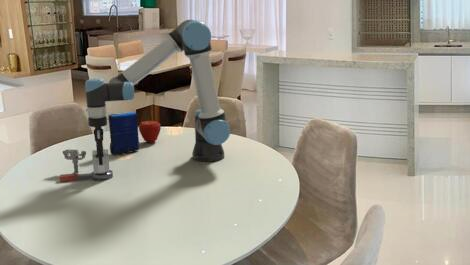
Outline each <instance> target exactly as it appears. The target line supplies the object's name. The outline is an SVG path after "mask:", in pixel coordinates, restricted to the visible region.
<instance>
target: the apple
mask: <svg viewBox="0 0 470 265" xmlns="http://www.w3.org/2000/svg"><path fill="white" fill-rule="evenodd" d="M161 128H162V127H161V123H159V122H158V121H155V120H150V119H149V120H145V121H141V122H140V123H139V125H138V132H139V134H140V136H141V137H142V139H143V140H144V141H145V142H146V143H148V144H152V143H155V142H156V141H157V140H158V138H159V135H160V133H161Z"/></svg>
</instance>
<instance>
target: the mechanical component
mask: <svg viewBox="0 0 470 265" xmlns="http://www.w3.org/2000/svg"><path fill="white" fill-rule="evenodd" d="M62 154H63V156H64V159H65V160H72V162H71V163H72V164H73V171H74V173H79V166H78V163H79V161H82V160H83V159H85V158H86V155H87V152H86V151H85V150H82V151H79V149H64V150H63V151H62ZM74 173H73V174H74Z"/></svg>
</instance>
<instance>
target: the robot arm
mask: <svg viewBox="0 0 470 265" xmlns="http://www.w3.org/2000/svg"><path fill="white" fill-rule="evenodd" d="M211 40H212V32H211V30H210V27H208V25H207V24H206V23H205V22H202V21H200V20H196V19H195V20H194V19H186V20H184V21H182V22H181V23H179V24H178V25H177V26H176V27H175V28H174V29H173V30H172V31H171V32H169V33H167V36H166V38H165V39H164V40H162V41H160V43H159V44H157V45H156V46H154V47H153V48H152V49H151V50H150V51H148V52H147V53H145V54H144V55H143V56H141V57H140V58H139V59H137V60H136V61H135V62H133V64H131V65H130V66H128V67H127V68H126V69H125V70H123V71H121V72H120V73H119V74H118V75H117V76H115V77H112V78H111V79H110V80H109V81H108V83H107V82H105V81H104V80H105V79H103V78H90V79H86V81H85V82H84V84H85V87H84V88H85V97H86V100H85V101H86V108H87V109H85V111H86V112H87V116H88V117H87V120H88V121H87V122H88V126H89V127H90V128H94V129H93V135H94V136H93V137H94V142H95V143H96V144H95V145H96V150H97V156H95V157H96V158H97V162H98V172H105V166H104V155H103V150H106V149H104V144H103V141H104V129H103V128H102V127H105V126H107V124H108V118H107V104H106V102H117V101H118V102H119V101H130V100H133V99H134V98H135V85H136V84H137V83H139V82H140V81H141V80H143V79H144V78H145V77H147V76H148V75H149V74H151V73H152V72H153V71H155V70H157V68H158V67H159V66H161V65H162V64H164V63H165V62H166V61H168V60H169V59H170V58H171V57H173V56H174V55H176V54H177V53H182V52H184V56H185V57H187V58H188V59H189V62H190V68H191V73H192V78H193V82H194V87H195V90H196V95H197V99H198V105H199V109H197V110H195V111H194V116H193V118H194V135H195V136H194V137H195V138H194V139H195V143H194V146H193V149H192V154H191V156H192V159H193V160H194V161H196V162H205V163H206V162H215V161H217V162H218V161H220V160H223V159H224V158H225V150H224V147H223V144H224V143H225V142H226V141H228V140H229V138H230V135H231V128H230V125H229V122H227V118H226V113H225V110H224V109H222V108H221V107H220V106H221V105H220V102H219V101H220V100H219V96H218V90H217V86H216V81H215V77H214V72H213V66H212V63H211V57H210V54H211V52H212V51H213V50H212V44H211Z"/></svg>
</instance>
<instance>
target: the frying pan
mask: <svg viewBox="0 0 470 265" xmlns="http://www.w3.org/2000/svg"><path fill="white" fill-rule="evenodd" d="M78 173H79V172H77V173H65V174H64V173H63V174H60V175H59V182H60V183H65V182H66V183H67V182H78V181H85V180H86V181H88V180H93V181H97V182H98V181H107V180H111V179H113V177H114V174H113V170H111V169H109V172H99V173H94V170H93V171H92V172H90V173H89V172H88V173H79V174H78Z"/></svg>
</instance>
